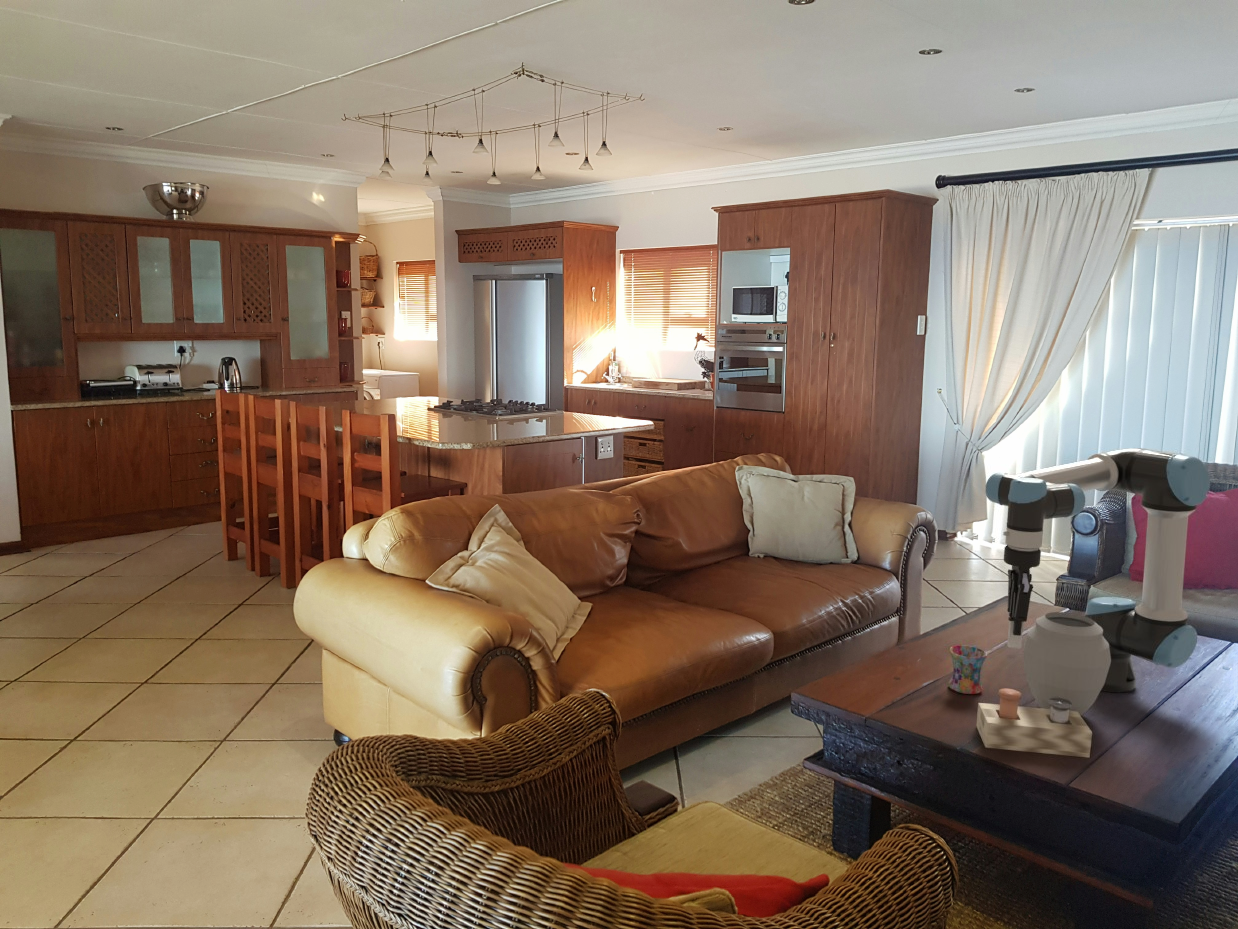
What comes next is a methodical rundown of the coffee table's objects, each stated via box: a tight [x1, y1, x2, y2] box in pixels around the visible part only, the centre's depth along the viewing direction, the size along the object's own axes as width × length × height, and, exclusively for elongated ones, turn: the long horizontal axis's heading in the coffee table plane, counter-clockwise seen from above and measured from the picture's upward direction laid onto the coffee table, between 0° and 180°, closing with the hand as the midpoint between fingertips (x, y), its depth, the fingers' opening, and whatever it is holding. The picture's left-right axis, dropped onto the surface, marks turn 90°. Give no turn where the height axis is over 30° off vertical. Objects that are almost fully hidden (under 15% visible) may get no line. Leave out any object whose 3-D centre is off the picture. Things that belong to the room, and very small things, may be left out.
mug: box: [947, 644, 988, 695], centre depth 240 cm, size 12×9×11 cm
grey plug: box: [1049, 697, 1072, 724], centre depth 210 cm, size 5×5×9 cm
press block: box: [976, 702, 1093, 758], centre depth 211 cm, size 22×11×6 cm, turn 79°
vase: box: [1022, 611, 1111, 717], centre depth 225 cm, size 20×20×24 cm
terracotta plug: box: [998, 688, 1022, 720], centre depth 211 cm, size 5×5×9 cm
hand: (1014, 646), depth 209 cm, fingers closed
